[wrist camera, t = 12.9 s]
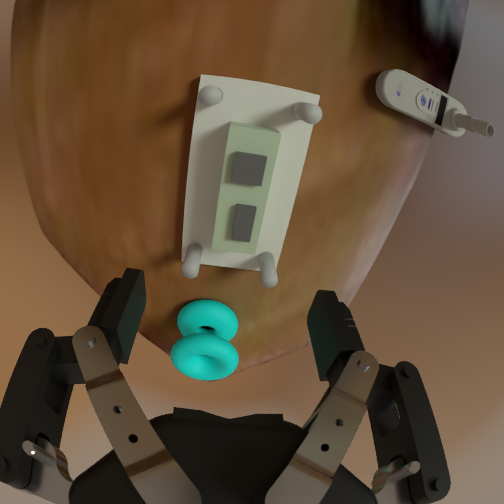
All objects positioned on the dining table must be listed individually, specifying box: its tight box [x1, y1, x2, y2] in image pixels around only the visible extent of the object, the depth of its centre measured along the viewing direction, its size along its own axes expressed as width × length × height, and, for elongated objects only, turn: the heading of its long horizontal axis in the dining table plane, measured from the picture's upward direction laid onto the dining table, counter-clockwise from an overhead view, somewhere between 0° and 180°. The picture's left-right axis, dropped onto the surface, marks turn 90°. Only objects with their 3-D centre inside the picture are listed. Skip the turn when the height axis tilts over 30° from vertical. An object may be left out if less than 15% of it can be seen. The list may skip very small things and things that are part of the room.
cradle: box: [181, 75, 322, 288], centre depth 30 cm, size 24×13×6 cm, turn 170°
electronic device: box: [376, 69, 495, 138], centre depth 23 cm, size 5×10×15 cm
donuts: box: [171, 300, 238, 380], centre depth 41 cm, size 10×10×10 cm
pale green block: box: [212, 121, 282, 255], centre depth 30 cm, size 14×5×5 cm, turn 170°
